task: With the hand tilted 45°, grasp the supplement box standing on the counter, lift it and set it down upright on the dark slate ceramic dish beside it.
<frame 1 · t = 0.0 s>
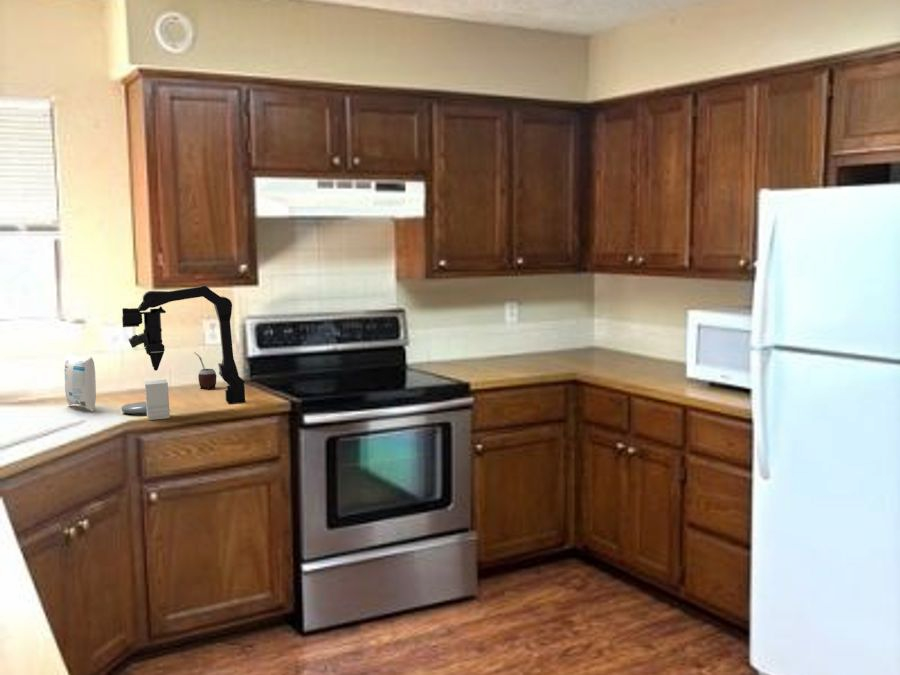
hand: (155, 368, 324), 15 cm above the countertop, tool pointing down, fingers open, 9 cm apart
dish: (144, 411, 320), on the countertop
supplement box: (158, 418, 309), on the countertop
pouch: (81, 409, 327), on the countertop
mate gourd: (206, 389, 365), on the countertop
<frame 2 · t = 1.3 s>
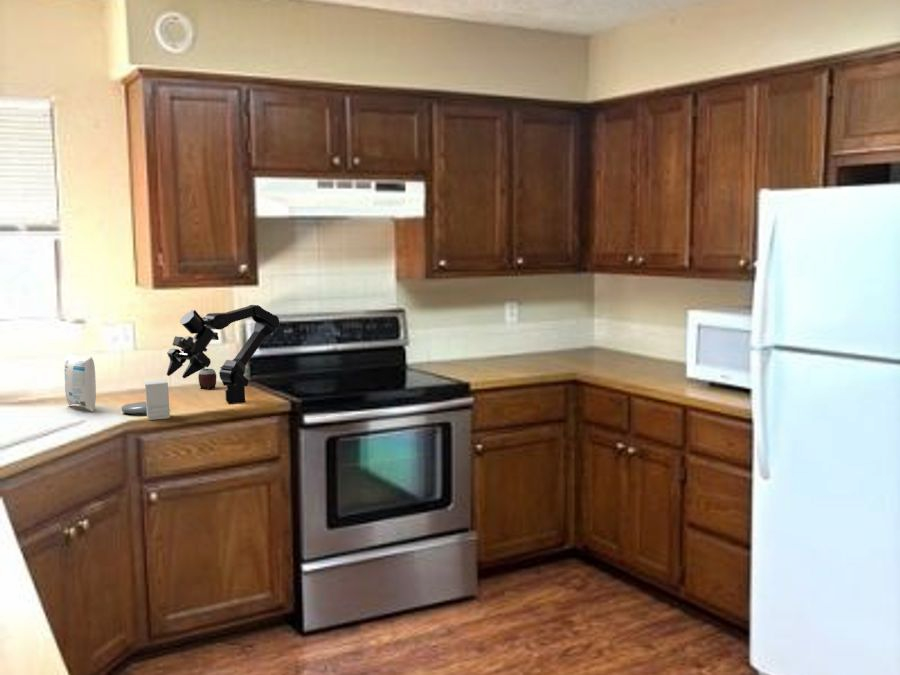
hand: (175, 376, 314), 13 cm above the countertop, tool tilted 45°, fingers open, 9 cm apart
nothing on the countertop moved.
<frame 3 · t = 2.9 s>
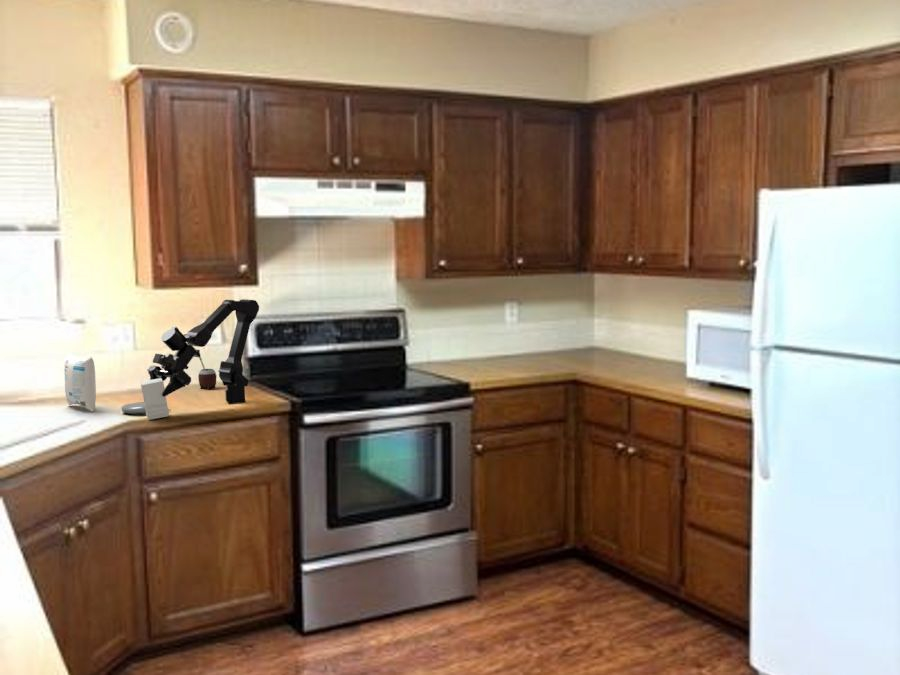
hand: (155, 394, 308), 8 cm above the countertop, tool tilted 45°, fingers open, 9 cm apart
supplement box: (157, 417, 309), on the countertop, touching gripper
everything else where it was.
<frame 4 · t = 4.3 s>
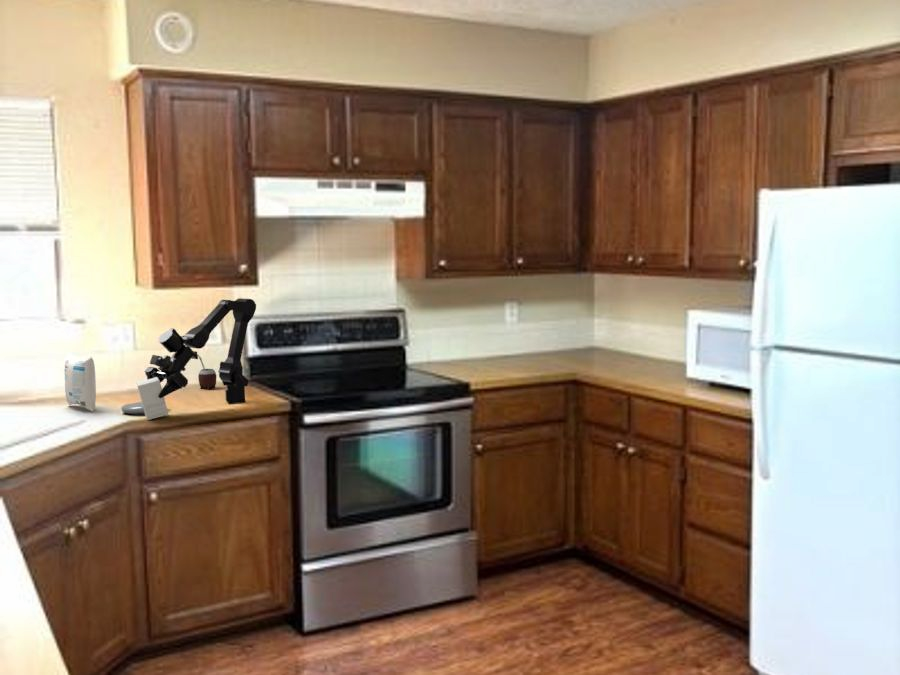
hand: (151, 395, 307), 8 cm above the countertop, tool tilted 45°, fingers closed on supplement box, 9 cm apart
supplement box: (157, 416, 309), on the countertop, touching gripper
everything else where it was.
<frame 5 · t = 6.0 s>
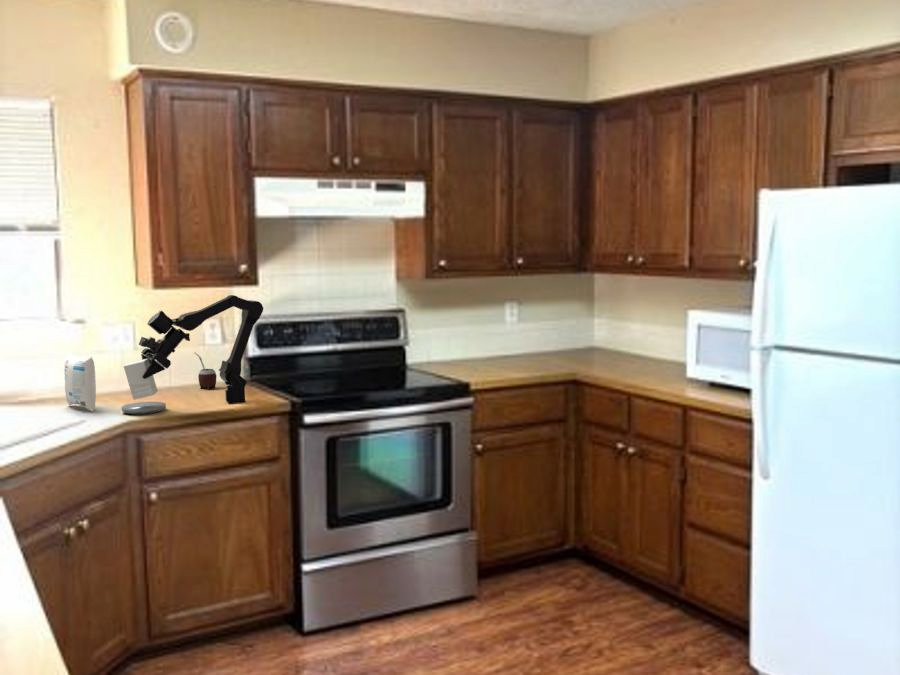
hand: (139, 376, 315), 13 cm above the countertop, tool tilted 45°, fingers closed on supplement box, 9 cm apart
supplement box: (145, 396, 317), point 6 cm above the countertop, touching gripper
everything else where it was.
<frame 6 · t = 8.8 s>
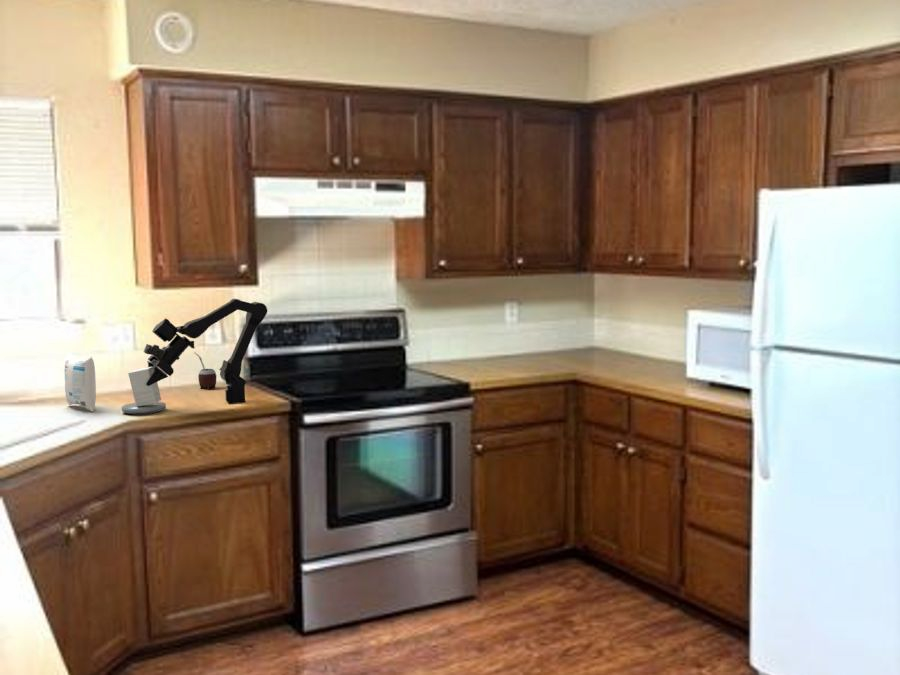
hand: (144, 383, 319), 10 cm above the countertop, tool tilted 45°, fingers closed on supplement box, 9 cm apart
supplement box: (149, 404, 320), point 3 cm above the countertop, touching dish, gripper
everything else where it was.
when the fingers open (10 cm above the countertop, at t = 8.8 s): supplement box stays where it is, resting on dish.
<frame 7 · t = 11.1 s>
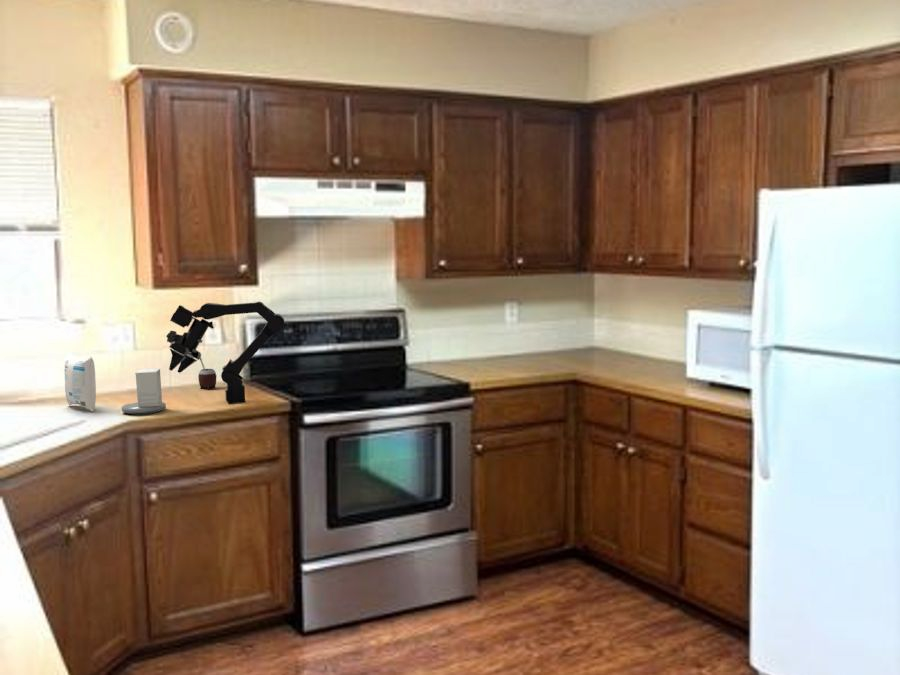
hand: (174, 371, 328), 13 cm above the countertop, tool tilted 30°, fingers open, 9 cm apart
supplement box: (150, 405, 320), point 2 cm above the countertop, touching dish
everything else where it was.
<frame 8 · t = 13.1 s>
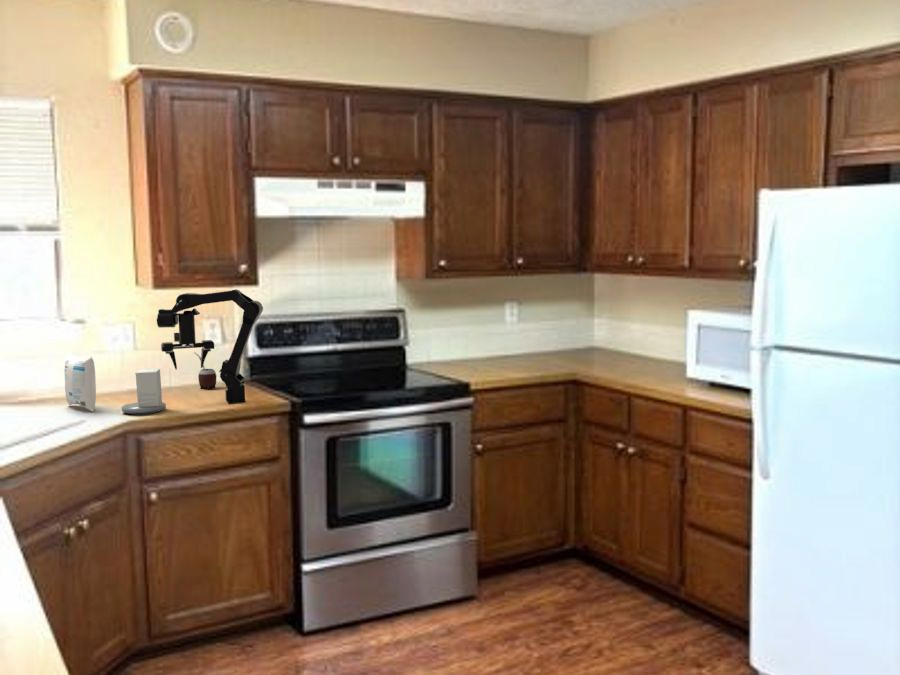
hand: (188, 368, 334), 13 cm above the countertop, tool pointing down, fingers open, 9 cm apart
nothing on the countertop moved.
at the end: supplement box inside the target area on the dish (2.1 cm from its centre), point 2.0 cm above the dish's base; supplement box tilted 0°; the gripper is holding nothing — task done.
